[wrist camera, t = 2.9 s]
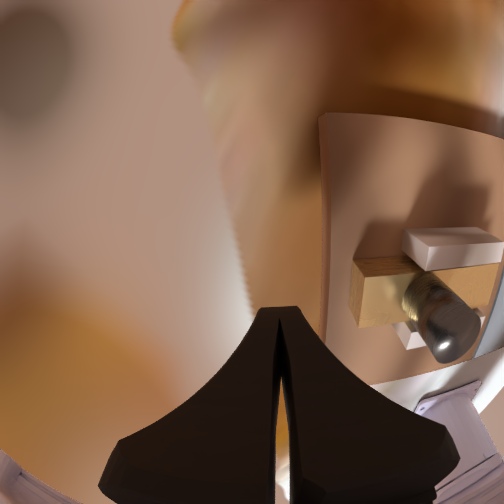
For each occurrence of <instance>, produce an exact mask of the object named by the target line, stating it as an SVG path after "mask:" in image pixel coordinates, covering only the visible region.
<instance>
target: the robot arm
mask: <svg viewBox="0 0 504 504" xmlns="http://www.w3.org/2000/svg"><path fill="white" fill-rule="evenodd" d="M281 379H282V386H283V393H284V400H285V407H286V414H287V422H288V430H289V458H290V504H504V462H503V460H502V457H501V455H500V454H499V452H498V451H497V449H496V447H495V445H494V443H493V441H492V439H491V437H490V435H489V433H488V431H487V429H486V427H485V425H484V423H483V421H482V419H481V418H480V416H479V414H478V412H477V410H476V408H475V407H474V405H473V403H472V401H471V400H472V399H473V397H474V395H475V394H476V392H477V391H478V389H479V387H480V386H481V381H480V380H478V381H476V382H473V383H471V384H468V385H466V386H463V387H460V388H458V389H455V390H452V391H449V392H446V393H443V394H440V395H437V396H434V397H431V398H428V399H424V400H422V401H421V402H420V403H419V404H418V406H417V408H416V410H415V412H412V411H410V410H408V409H406V408H404V407H402V406H400V405H399V404H397V403H395V402H393V401H391V400H390V399H388V398H387V397H385V396H384V395H382V394H381V393H379V392H378V391H376V390H375V389H373V388H372V387H370V386H369V385H367V384H366V383H365V382H364V381H362V380H361V379H360V378H359V377H357V376H356V375H355V374H354V373H353V372H352V371H350V370H349V369H348V368H347V367H346V366H345V365H344V364H343V363H342V362H341V361H340V360H339V359H338V358H337V357H336V356H335V355H334V354H333V353H332V352H331V351H330V350H329V349H328V347H327V346H326V345H325V344H324V343H323V342H322V340H321V339H320V338H319V337H318V335H317V334H316V333H315V332H314V330H313V329H312V327H311V326H310V325H309V323H308V322H307V320H306V319H305V317H304V315H303V314H302V312H301V310H300V308H299V307H297V306H286V307H265V308H260V309H259V310H258V312H257V315H256V317H255V319H254V321H253V323H252V325H251V327H250V329H249V330H248V332H247V333H246V335H245V337H244V338H243V340H242V341H241V343H240V344H239V346H238V347H237V349H236V350H235V351H234V353H233V354H232V355H231V357H230V358H229V359H228V360H227V362H226V363H225V364H224V365H223V366H222V368H221V369H220V370H219V371H218V372H217V373H216V374H215V375H214V376H213V377H212V378H211V379H210V380H209V381H208V382H207V383H206V384H205V385H204V386H203V387H202V388H201V389H200V390H198V391H197V392H196V393H195V394H194V395H193V396H192V397H190V398H189V399H188V400H187V401H186V402H184V403H183V404H181V405H180V406H179V407H177V408H176V409H174V410H173V411H172V412H170V413H168V414H167V415H166V416H164V417H163V418H161V419H160V420H158V421H156V422H155V423H153V424H151V425H149V426H147V427H145V428H143V429H142V430H140V431H138V432H136V433H134V434H132V435H130V436H127V437H125V438H123V439H121V440H119V441H118V443H117V445H116V447H115V448H114V450H113V451H112V453H111V455H110V457H109V459H108V462H107V464H106V467H105V469H104V471H103V474H102V477H101V479H100V481H99V484H98V487H99V489H100V490H101V491H102V493H103V494H104V495H105V496H107V497H108V498H109V499H111V500H113V501H114V502H115V503H117V504H275V463H276V425H277V415H278V405H279V394H280V382H281ZM503 458H504V455H503ZM0 504H82V503H80V502H78V501H76V500H74V499H72V498H70V497H68V496H66V495H64V494H63V493H61V492H59V491H57V490H56V489H53V488H52V487H50V486H49V485H47V484H45V483H44V482H42V481H41V480H39V479H37V478H36V477H34V476H33V475H31V474H30V473H28V472H27V471H26V470H24V469H23V468H22V467H21V466H20V465H19V464H18V463H17V462H16V461H14V460H13V459H12V458H11V457H10V456H9V455H7V454H6V453H5V452H4V451H3V450H1V449H0Z"/></svg>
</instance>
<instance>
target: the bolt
mask: <svg viewBox="0 0 504 504" xmlns="http://www.w3.org/2000/svg"><path fill="white" fill-rule="evenodd" d="M498 266H499V263H490V264H482V265H475V266H466V267H458V268H449V269H440V270H431V271H425V270H424V269H423V268H421V267H420V266H419V265H418V264H417V263H416V262H415V261H414V260H412V259H411V258H410V257H409V256H403V257H388V258H373V259H358V260H352V275H351V287H350V298H349V308H350V310H351V313H352V315H353V317H354V319H355V321H356V324H357V326H358V328H364V327H372V326H379V325H387V324H394V323H400V322H407V321H410V322H411V323H412V324H413V326H414V327H415V329H416V330H417V332H418V333H419V335H420V336H421V338H422V339H423V341H424V342H425V344H426V345H427V347H428V348H429V350H430V351H431V353H432V355H433V356H434V358H435V359H436V361H437V362H439V363H441V364H447V363H451V362H453V361H456V360H457V359H459V358H460V357H462V356H463V355H464V354H465V353H466V352H467V351H468V350H469V349H470V348H471V347H472V346H473V344H474V343H475V341H476V339H477V338H478V335H479V333H480V329H481V319H480V317H479V316H478V315H477V314H476V313H475V312H474V311H473V310H472V309H473V308H477V307H481V306H485V305H488V303H489V300H490V296H491V293H492V289H493V286H494V282H495V278H496V274H497V270H498Z"/></svg>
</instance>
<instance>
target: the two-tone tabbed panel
mask: <svg viewBox="0 0 504 504" xmlns="http://www.w3.org/2000/svg"><path fill="white" fill-rule="evenodd" d="M318 129H319V143H320V160H321V183H322V286H321V309H320V327H319V338H320V339H321V340H322V342H323V343H324V344H325V345H326V346H327V347H328V349H329V350H330V351H331V352H332V353H333V354H334V355H335V356H336V357H337V358H338V359H339V360H340V361H341V362H342V363H343V364H344V365H345V366H346V367H347V368H348V369H349V370H350V371H352V372H353V373H354V374H355V375H356V376H357V377H359V378H360V379H361V380H362V381H364V382H365V383H366V384H367V385H373V384H379V383H384V382H389V381H394V380H399V379H404V378H408V377H412V376H416V375H420V374H424V373H428V372H432V371H436V370H439V369H443V368H446V367H449V366H452V365H456V364H459V363H462V362H465V361H468V360H471V359H472V357H473V358H476V357H479V356H482V355H484V354H487V353H490V352H492V351H495V350H497V349H500V348H502V347H504V139H502V138H498V137H495V136H492V135H488V134H484V133H481V132H477V131H473V130H469V129H465V128H460V127H456V126H451V125H446V124H441V123H435V122H430V121H423V120H417V119H410V118H402V117H394V116H384V115H373V114H360V113H338V112H326V113H324V114H323V115H321V116H320V117H318ZM403 256H409V257H410V258H411V259H412V260H414V261H415V262H416V263H417V264H418V265H419V266H420V267H421V268H423V269H424V270H425V271H431V270H440V269H449V268H458V267H466V266H475V265H482V264H490V263H499V266H498V270H497V274H496V278H495V282H494V286H493V289H492V293H491V296H490V300H489V303H488V305H485V306H481V307H477V308H473V309H472V310H473V311H474V312H475V313H476V314H477V315H478V316H479V317H480V319H481V329H480V333H479V335H478V338H477V339H476V341H475V343H474V344H473V346H472V347H471V348H470V349H469V350H468V351H467V352H466V353H465V354H464V355H463V356H462V357H460V358H459V359H457V360H456V361H453V362H451V363H447V364H441V363H439V362H437V361H436V359H435V358H434V356H433V355H432V353H431V351H430V350H429V348H428V347H427V345H426V344H425V342H424V341H423V339H422V338H421V336H420V335H419V333H418V332H417V330H416V329H415V327H414V326H413V324H412V323H411V322H410V321H407V322H400V323H394V324H387V325H379V326H372V327H364V328H358V326H357V324H356V321H355V319H354V317H353V315H352V313H351V310H350V308H349V298H350V287H351V275H352V260H358V259H373V258H388V257H403Z"/></svg>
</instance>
